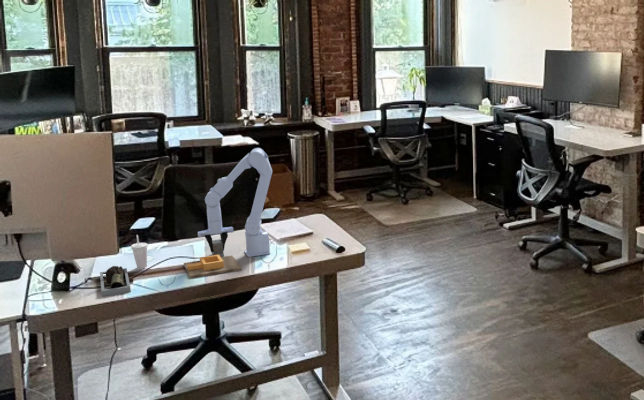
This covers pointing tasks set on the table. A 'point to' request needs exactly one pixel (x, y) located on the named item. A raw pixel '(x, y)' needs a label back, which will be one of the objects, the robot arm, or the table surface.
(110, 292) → the pipe rest
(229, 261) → the base plate
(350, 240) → the table surface
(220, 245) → the grey block
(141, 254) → the smoothie
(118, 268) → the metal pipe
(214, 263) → the bracket collar
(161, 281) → the table surface
